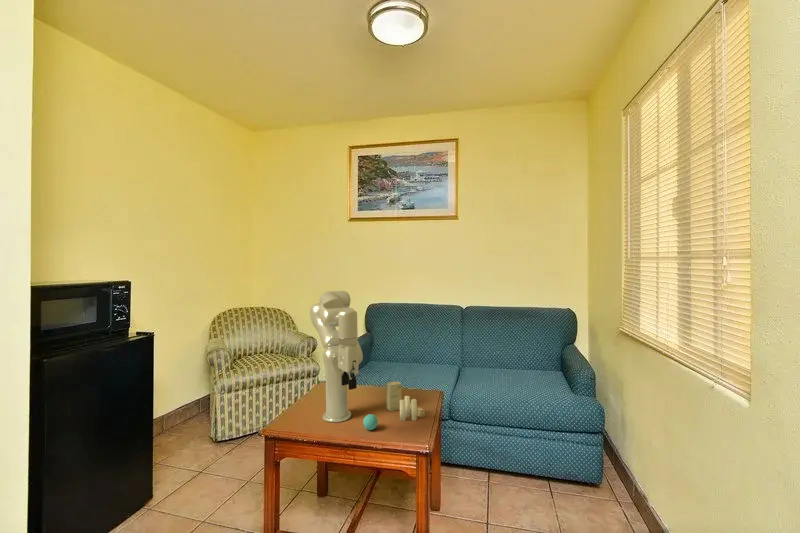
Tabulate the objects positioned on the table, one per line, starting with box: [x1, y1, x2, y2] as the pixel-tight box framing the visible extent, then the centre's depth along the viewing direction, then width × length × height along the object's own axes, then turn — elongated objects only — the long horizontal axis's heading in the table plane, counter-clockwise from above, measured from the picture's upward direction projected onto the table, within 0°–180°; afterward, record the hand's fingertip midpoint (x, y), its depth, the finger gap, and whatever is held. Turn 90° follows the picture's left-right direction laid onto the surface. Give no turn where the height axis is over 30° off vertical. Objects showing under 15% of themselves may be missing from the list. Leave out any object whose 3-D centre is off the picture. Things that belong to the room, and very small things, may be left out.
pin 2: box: [410, 398, 418, 422], centre depth 162 cm, size 2×2×8 cm
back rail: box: [410, 402, 426, 418], centre depth 169 cm, size 12×2×3 cm, turn 34°
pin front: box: [399, 398, 407, 422], centre depth 162 cm, size 2×2×8 cm
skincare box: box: [386, 380, 403, 412], centre depth 175 cm, size 6×4×12 cm
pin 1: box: [404, 395, 411, 418], centre depth 166 cm, size 2×2×8 cm
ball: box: [362, 413, 379, 431], centre depth 153 cm, size 6×6×6 cm
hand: (348, 386), depth 147 cm, fingers open, 5 cm apart
